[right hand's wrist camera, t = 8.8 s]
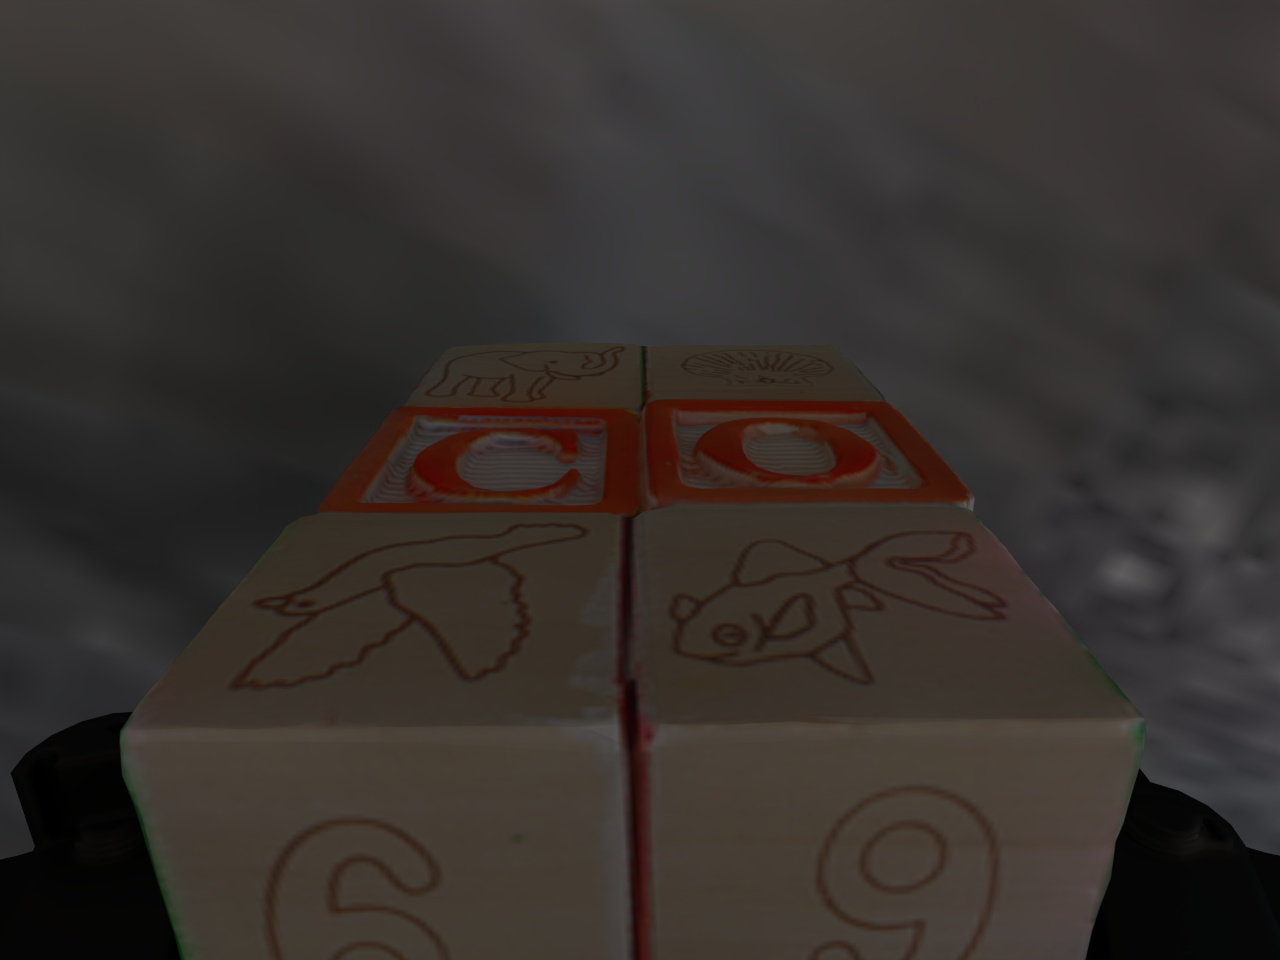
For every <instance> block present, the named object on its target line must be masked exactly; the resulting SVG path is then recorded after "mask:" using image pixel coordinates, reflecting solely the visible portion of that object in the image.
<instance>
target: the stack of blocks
mask: <svg viewBox="0 0 1280 960" xmlns="http://www.w3.org/2000/svg"><path fill="white" fill-rule="evenodd" d="M974 499H975V498H974V496H973V495H972V493H971V492H970V491H969V489H968V488H967V486H966V485H965V484H964V483H963V481H962V480H961V479H960V478H959V477H958V476H957V475H956V474H955V473H954V471H953V470H952V469H951V468H950V467H949V466H948V465H947V464H946V462H945V461H944V460H943V459H942V458H941V457H940V455H939V454H938V453H937V452H936V451H935V450H934V448H933V447H932V446H931V445H930V444H929V443H928V442H927V441H926V440H925V438H924V437H923V436H922V435H921V434H920V433H919V432H918V431H917V430H916V429H915V428H914V427H913V426H912V425H911V424H910V423H909V421H908V420H907V419H906V418H905V417H904V416H903V415H902V413H901V412H900V411H899V410H898V409H897V408H895V407H893V406H892V405H890V404H888V403H886V401H885V398H884V396H883V395H882V394H881V393H880V392H879V391H878V389H877V388H876V387H875V386H874V385H873V384H872V383H871V382H869V381H868V379H867V378H866V377H865V376H864V375H863V373H862V372H861V371H860V370H859V369H858V368H857V367H856V366H854V364H853V363H852V362H851V361H850V360H849V359H848V358H847V356H846V355H845V354H844V353H843V352H842V351H841V350H840V349H839V348H838V347H835V346H833V345H654V346H639V345H634V344H601V343H532V344H491V345H475V346H459V347H453V348H450V349H447V350H445V351H444V352H443V353H442V354H441V356H440V357H439V358H438V359H437V360H436V361H435V362H434V364H433V365H432V366H431V367H430V368H429V370H428V371H427V372H426V373H425V375H424V376H423V377H422V379H421V380H420V382H419V383H418V385H417V386H416V388H415V389H414V391H413V392H412V393H411V394H410V397H409V398H408V400H407V401H406V402H405V403H404V405H403V406H402V407H400V408H397V409H395V410H393V411H392V412H391V413H390V414H389V415H388V416H387V417H386V419H385V420H384V422H383V423H382V425H381V426H380V428H379V429H378V430H377V431H376V432H375V434H374V435H373V436H372V437H371V438H370V440H369V441H368V443H367V444H366V446H365V447H364V448H363V450H362V451H361V452H360V453H359V455H358V456H357V457H356V458H355V459H354V461H353V462H352V463H351V464H350V465H349V466H348V468H347V469H346V470H345V471H344V472H343V473H342V475H341V476H340V477H339V479H338V480H337V482H336V483H335V485H334V486H333V487H332V489H331V490H330V492H329V493H328V495H327V496H326V497H325V499H324V500H323V502H322V503H321V505H320V506H319V509H318V511H317V513H316V515H310V516H304V517H302V518H300V519H298V520H296V521H294V522H292V523H290V524H288V525H287V526H286V527H285V529H284V530H283V531H282V533H281V534H280V536H279V537H278V538H277V540H276V541H275V542H274V543H273V544H272V545H271V546H270V547H269V548H268V549H267V550H266V551H265V552H264V553H263V554H262V555H261V557H260V558H259V560H258V561H257V563H256V564H255V566H254V567H253V569H252V570H251V571H250V572H249V573H248V574H247V575H246V576H245V577H244V578H243V579H242V580H241V581H240V582H239V583H238V584H237V586H236V587H235V588H234V590H233V591H232V592H231V593H230V594H229V596H228V597H227V598H226V599H225V600H224V601H223V602H222V603H221V605H220V606H219V607H218V608H217V610H216V611H215V612H214V614H213V615H212V616H211V618H210V619H209V620H208V622H207V623H206V624H205V625H204V627H203V628H202V629H201V630H200V631H199V633H198V634H197V635H196V636H195V637H194V639H193V640H192V641H191V642H190V644H189V645H188V646H187V647H186V648H185V650H184V651H183V652H182V653H181V654H180V656H179V657H178V658H177V659H176V660H175V661H174V663H173V664H172V665H171V666H170V667H169V668H168V670H167V671H166V672H165V673H164V674H163V675H162V677H161V678H160V679H159V680H158V681H157V682H156V684H155V685H154V686H153V687H152V688H151V689H150V691H149V692H148V693H147V694H146V695H145V696H144V697H143V699H142V700H141V701H140V703H139V704H138V706H137V707H136V708H135V710H134V711H133V713H132V714H131V716H130V717H129V719H128V720H127V722H126V723H125V725H124V726H123V728H122V729H121V731H120V751H121V767H122V776H123V779H124V781H125V784H126V786H127V789H128V791H129V794H130V796H131V799H132V801H133V804H134V806H135V809H136V812H137V816H138V819H139V822H140V826H141V829H142V832H143V835H144V839H145V842H146V845H147V849H148V852H149V855H150V859H151V862H152V865H153V869H154V872H155V875H156V878H157V881H158V885H159V888H160V891H161V894H162V897H163V900H164V903H165V907H166V910H167V913H168V916H169V919H170V922H171V926H172V929H173V932H174V935H175V939H176V943H177V947H178V951H179V955H180V959H181V960H1085V959H1086V955H1087V950H1088V946H1089V942H1090V937H1091V933H1092V929H1093V926H1094V923H1095V920H1096V917H1097V914H1098V911H1099V908H1100V905H1101V902H1102V900H1103V897H1104V894H1105V892H1106V889H1107V887H1108V884H1109V881H1110V879H1111V872H1112V865H1113V857H1114V849H1115V842H1116V839H1117V837H1118V835H1119V832H1120V830H1121V827H1122V825H1123V822H1124V819H1125V815H1126V812H1127V808H1128V805H1129V801H1130V798H1131V794H1132V790H1133V787H1134V783H1135V780H1136V777H1137V774H1138V770H1139V767H1140V764H1141V761H1142V757H1143V754H1144V747H1145V739H1146V728H1145V717H1144V716H1143V715H1142V714H1141V713H1140V712H1139V710H1138V709H1137V708H1136V707H1135V706H1134V705H1133V704H1132V702H1131V701H1130V700H1129V699H1128V698H1127V697H1126V695H1125V694H1124V693H1123V692H1122V691H1121V689H1120V688H1119V687H1118V685H1117V684H1116V683H1115V682H1114V680H1113V679H1112V678H1111V676H1110V675H1109V674H1108V672H1107V671H1106V670H1105V669H1104V667H1103V666H1102V665H1101V663H1100V662H1099V661H1098V660H1097V658H1096V657H1095V656H1094V654H1093V653H1092V652H1091V650H1090V649H1089V648H1088V647H1087V645H1086V644H1085V643H1084V641H1083V640H1082V639H1081V637H1080V636H1079V635H1078V634H1077V633H1076V632H1075V630H1074V629H1073V628H1072V627H1071V626H1070V625H1069V623H1068V622H1067V621H1066V620H1065V619H1064V618H1063V616H1062V615H1061V614H1060V613H1059V612H1058V611H1057V609H1056V608H1055V607H1054V606H1053V605H1052V604H1051V603H1050V601H1049V600H1048V599H1047V598H1046V597H1045V596H1044V595H1043V593H1042V592H1041V591H1040V590H1039V589H1038V588H1037V587H1036V585H1035V584H1034V583H1033V582H1032V581H1031V580H1030V579H1029V578H1028V576H1027V575H1026V574H1025V573H1024V572H1023V571H1022V569H1021V568H1020V567H1019V565H1018V564H1017V562H1016V561H1015V560H1014V558H1013V557H1012V556H1011V554H1010V553H1009V552H1008V550H1007V549H1006V547H1005V546H1004V545H1003V544H1002V543H1001V542H1000V541H999V540H998V539H997V538H996V536H995V535H994V534H993V533H992V532H991V531H990V530H989V529H988V528H987V527H986V526H985V525H984V524H983V523H982V521H981V520H980V518H979V517H978V516H977V515H976V514H975V513H973V506H974Z"/></svg>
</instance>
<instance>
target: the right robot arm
mask: <svg viewBox="0 0 1280 960" xmlns="http://www.w3.org/2000/svg"><path fill="white" fill-rule="evenodd" d="M132 713H133V712H125V713H112V714H109V715H105V716H101V717H97V718H93V719H90V720H86V721H82V722H80V723H78V724H75V725H73V726H71V727H69V728H67V729H64V730H62V731H60V732H58V733H56V734H53V735H51V736H50V737H48V738H47V739H46V740H44V741H43V742H41V743H40V744H39V745H37V746H36V747H34V748H33V749H32V750H30V751H29V752H27V753H26V754H25V755H24V757H23V758H22V759H21V760H20V762H19V763H18V764H17V765H16V767H15V768H14V769H13V770H12V772H11V775H12V779H13V782H14V785H15V788H16V791H17V794H18V797H19V800H20V803H21V806H22V809H23V812H24V815H25V818H26V821H27V824H28V827H29V830H30V833H31V836H32V839H33V842H34V845H35V848H34V850H33V851H32V852H28V853H25V854H22V855H18V856H14V857H10V858H5V859H1V860H0V960H181V959H180V955H179V951H178V947H177V943H176V939H175V935H174V932H173V929H172V926H171V922H170V919H169V916H168V913H167V910H166V907H165V903H164V900H163V897H162V894H161V891H160V888H159V885H158V881H157V878H156V875H155V872H154V869H153V865H152V862H151V859H150V855H149V852H148V849H147V845H146V842H145V839H144V835H143V832H142V829H141V826H140V822H139V819H138V816H137V812H136V809H135V806H134V804H133V801H132V799H131V796H130V794H129V791H128V789H127V786H126V784H125V781H124V779H123V776H122V767H121V751H120V731H121V729H122V728H123V726H124V725H125V723H126V722H127V720H128V719H129V717H130V716H131V714H132ZM1085 960H1280V856H1278V855H1274V854H1269V853H1265V852H1262V851H1258V850H1255V849H1251V848H1248V847H1246V846H1245V844H1244V843H1243V841H1242V840H1241V839H1240V837H1239V836H1238V834H1237V833H1236V831H1235V830H1234V828H1233V827H1232V825H1231V824H1230V823H1228V822H1227V821H1226V820H1225V819H1223V818H1222V817H1221V816H1220V815H1219V814H1217V813H1216V812H1215V811H1214V810H1212V809H1211V808H1210V807H1209V806H1207V805H1206V804H1204V803H1202V802H1200V801H1198V800H1196V799H1194V798H1192V797H1190V796H1188V795H1186V794H1184V793H1182V792H1180V791H1178V790H1175V789H1172V788H1168V787H1165V786H1162V785H1158V784H1155V783H1151V782H1150V781H1149V780H1148V778H1147V777H1146V776H1145V775H1144V773H1143V772H1142V771H1141V770H1140V768H1139V770H1138V774H1137V777H1136V780H1135V783H1134V787H1133V790H1132V794H1131V798H1130V801H1129V805H1128V808H1127V812H1126V815H1125V819H1124V822H1123V825H1122V827H1121V830H1120V832H1119V835H1118V837H1117V839H1116V842H1115V849H1114V857H1113V865H1112V872H1111V879H1110V881H1109V884H1108V887H1107V889H1106V892H1105V894H1104V897H1103V900H1102V902H1101V905H1100V908H1099V911H1098V914H1097V917H1096V920H1095V923H1094V926H1093V929H1092V933H1091V937H1090V942H1089V946H1088V950H1087V955H1086V959H1085Z"/></svg>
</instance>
